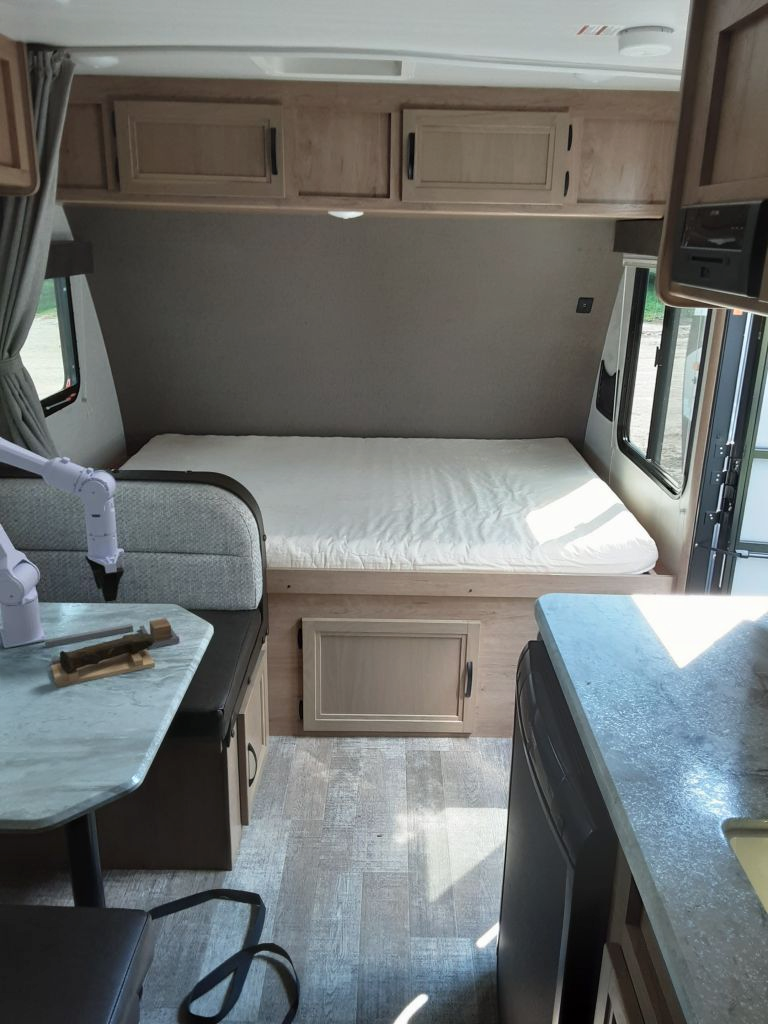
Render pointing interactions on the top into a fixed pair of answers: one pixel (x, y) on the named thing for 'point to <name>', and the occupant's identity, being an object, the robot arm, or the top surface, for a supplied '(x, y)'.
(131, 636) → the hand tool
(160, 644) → the key guide
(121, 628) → the socket channel
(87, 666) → the rack
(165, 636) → the key block
